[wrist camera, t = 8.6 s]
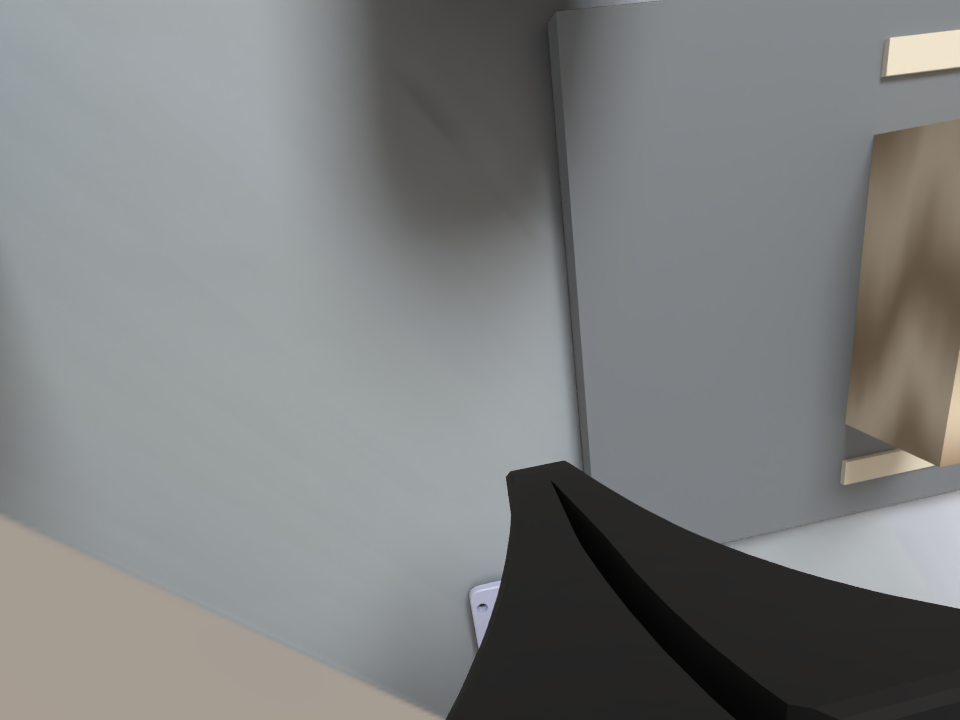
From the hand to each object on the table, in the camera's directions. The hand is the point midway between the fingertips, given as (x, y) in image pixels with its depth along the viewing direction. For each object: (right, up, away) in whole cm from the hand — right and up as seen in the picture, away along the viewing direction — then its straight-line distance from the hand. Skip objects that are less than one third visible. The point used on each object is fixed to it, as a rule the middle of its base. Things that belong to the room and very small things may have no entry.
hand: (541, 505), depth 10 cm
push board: (+16, +7, +10) cm, 20 cm away
